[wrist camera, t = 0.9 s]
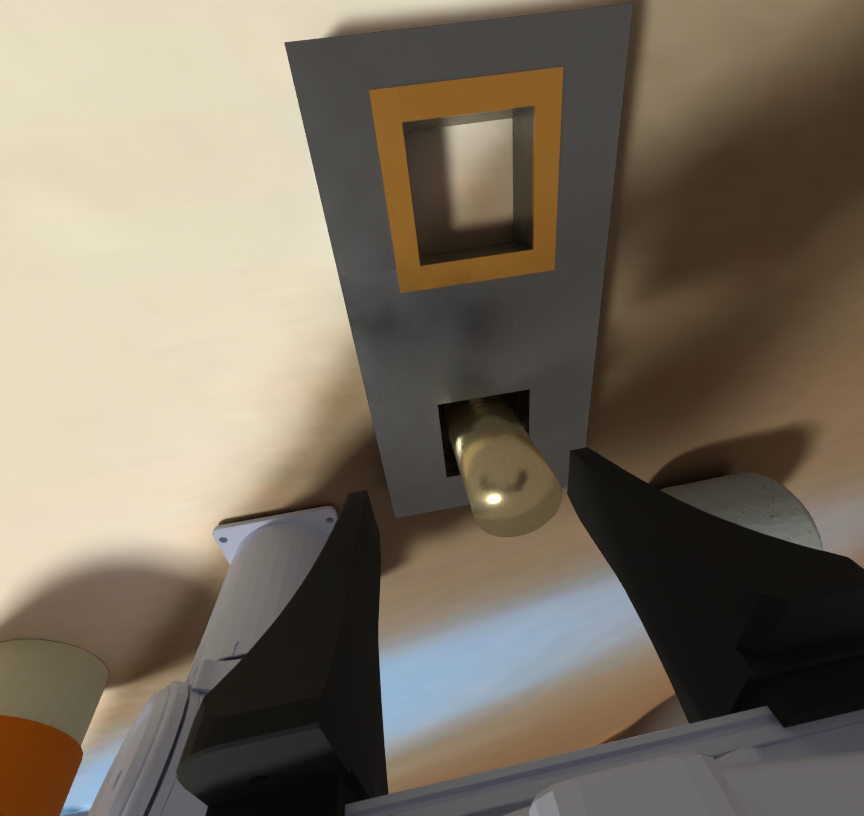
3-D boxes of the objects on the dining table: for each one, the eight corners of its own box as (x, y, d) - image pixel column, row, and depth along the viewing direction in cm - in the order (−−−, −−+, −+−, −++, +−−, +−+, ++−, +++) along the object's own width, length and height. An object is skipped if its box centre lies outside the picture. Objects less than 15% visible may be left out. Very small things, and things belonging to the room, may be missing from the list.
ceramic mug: (632, 473, 28) (712, 561, 21) (739, 449, 28) (850, 530, 22) (619, 563, 33) (678, 656, 27) (708, 543, 34) (789, 630, 27)
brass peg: (507, 434, 25) (559, 528, 18) (447, 444, 24) (476, 543, 18) (506, 379, 23) (564, 460, 16) (440, 390, 22) (469, 477, 16)
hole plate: (564, 460, 26) (583, 486, 24) (393, 491, 26) (395, 520, 23) (596, 30, 15) (636, 0, 13) (297, 64, 15) (282, 40, 12)
